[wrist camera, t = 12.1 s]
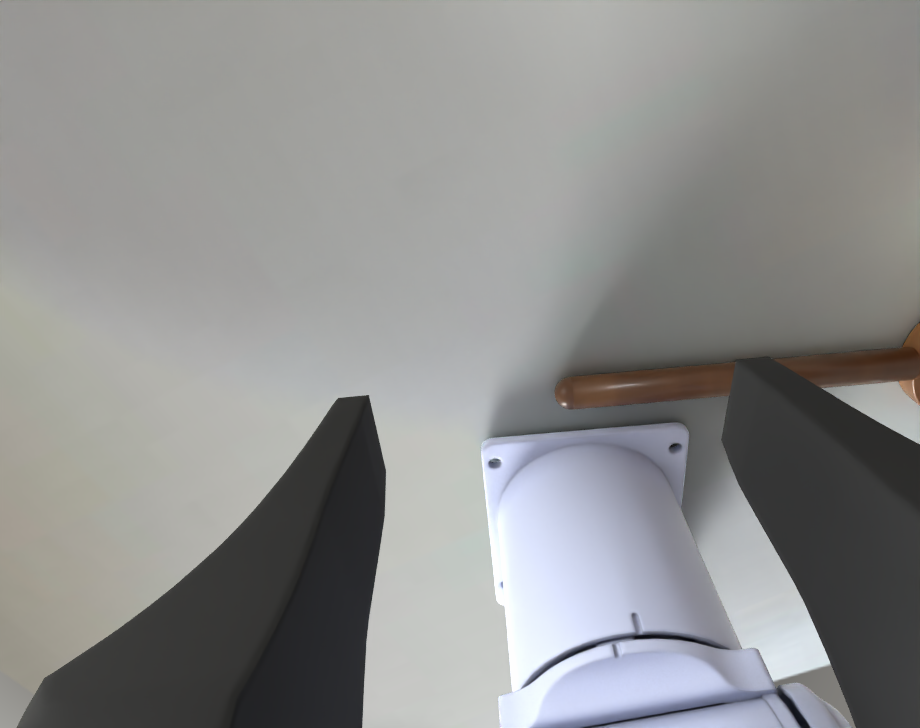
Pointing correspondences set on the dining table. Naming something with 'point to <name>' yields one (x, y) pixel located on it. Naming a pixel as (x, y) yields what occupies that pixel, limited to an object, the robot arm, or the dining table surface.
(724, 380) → the spoon
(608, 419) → the dining table surface
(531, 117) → the dining table surface
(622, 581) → the robot arm
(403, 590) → the dining table surface
